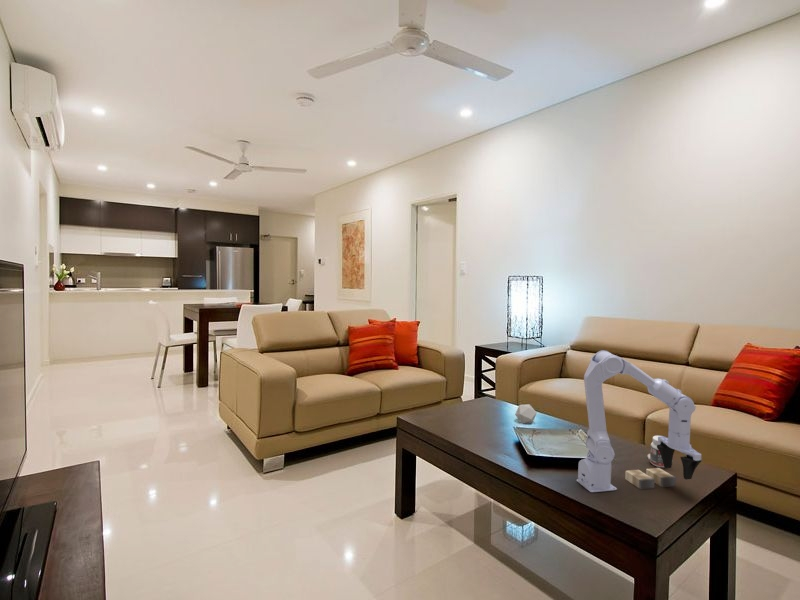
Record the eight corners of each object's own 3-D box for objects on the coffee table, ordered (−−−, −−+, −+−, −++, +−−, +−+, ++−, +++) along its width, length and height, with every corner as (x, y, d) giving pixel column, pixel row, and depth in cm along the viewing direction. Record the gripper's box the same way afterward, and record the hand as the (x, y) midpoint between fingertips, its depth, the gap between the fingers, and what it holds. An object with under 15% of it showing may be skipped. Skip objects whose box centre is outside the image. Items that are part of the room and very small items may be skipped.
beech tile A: (641, 480, 133) (625, 470, 140) (640, 489, 133) (625, 479, 140) (654, 479, 134) (638, 469, 141) (654, 488, 134) (638, 478, 141)
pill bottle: (659, 469, 147) (660, 443, 146) (646, 461, 153) (647, 436, 151) (672, 466, 149) (673, 440, 147) (658, 458, 154) (659, 433, 153)
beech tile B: (662, 478, 134) (646, 468, 141) (662, 487, 134) (645, 477, 141) (675, 477, 135) (658, 467, 142) (675, 486, 135) (658, 476, 142)
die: (534, 428, 189) (542, 408, 193) (518, 418, 189) (525, 398, 193) (526, 428, 197) (532, 409, 201) (509, 419, 197) (517, 400, 201)
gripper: (710, 439, 124) (708, 483, 125) (671, 422, 139) (669, 462, 139) (690, 440, 123) (688, 484, 124) (652, 423, 137) (651, 463, 138)
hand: (677, 473), depth 131 cm, fingers open, 7 cm apart
